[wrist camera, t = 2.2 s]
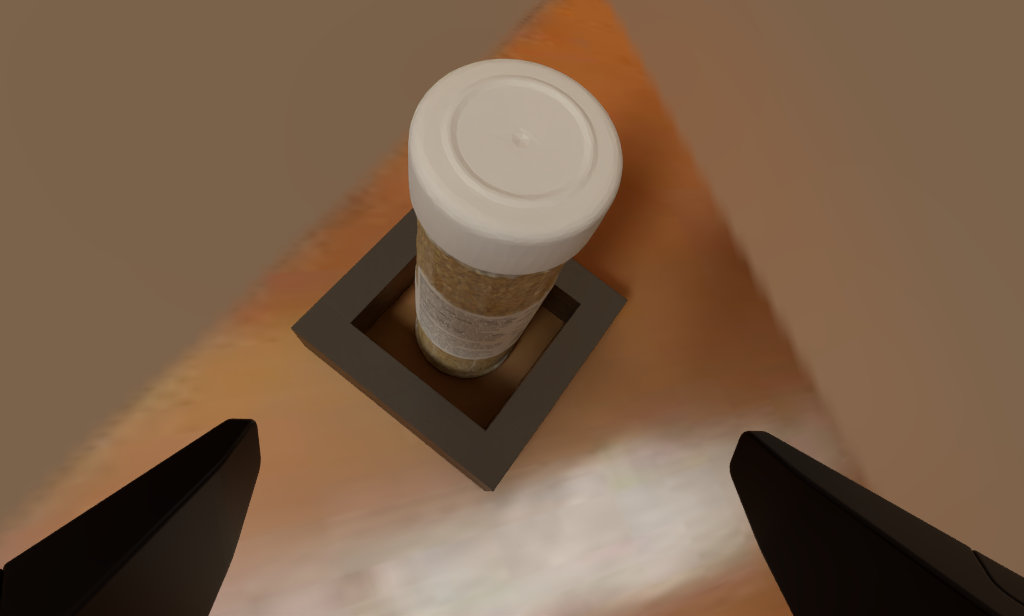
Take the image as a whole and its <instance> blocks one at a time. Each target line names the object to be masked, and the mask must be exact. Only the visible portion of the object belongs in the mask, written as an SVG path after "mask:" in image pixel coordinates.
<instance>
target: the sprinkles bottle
mask: <svg viewBox="0 0 1024 616" xmlns="http://www.w3.org/2000/svg"><path fill="white" fill-rule="evenodd" d="M408 168H409V190H410V197H411V202H412V205H413V208H414V211H415V213H416V216H417V228H418V229H417V238H416V243H417V244H416V247H417V264H416V269H415V300H416V313H417V316H416V320H415V334H416V338H417V343H418V345H419V347H420V349H421V351H422V353H423V354H424V356H425V358H426V360H427V361H428V362H429V363H430V364H432V365H433V366H435V367H436V368H437V369H438V370H440V371H442V372H444V373H446V374H448V375H450V376H454V377H459V378H474V377H479V376H482V375H486V374H488V373H490V372H492V371H494V370H495V369H496V368H498V367H499V366H500V365H501V364H502V363H503V362H504V361H505V359H507V357H508V356H509V354H510V352H511V351H512V349H513V347H514V344H515V342H516V341H517V340H518V338H519V337H520V336H521V334H522V333H523V331H524V330H525V328H526V327H527V325H528V324H529V322H530V321H531V319H532V318H533V316H534V315H535V313H536V311H537V310H538V308H539V307H540V305H541V304H542V302H543V301H544V299H545V298H546V296H547V295H548V293H549V292H550V290H551V289H552V287H553V286H554V284H555V282H556V279H557V277H558V274H559V272H560V271H561V269H562V267H563V266H564V264H565V263H566V261H568V260H569V259H570V258H572V257H573V256H575V255H576V254H577V253H578V252H579V251H580V250H581V249H582V248H583V247H584V246H585V245H586V244H587V242H588V241H589V240H590V238H591V237H592V235H593V234H594V232H595V231H596V229H597V228H598V226H599V225H600V223H601V221H602V220H603V218H604V216H605V215H606V213H607V211H608V210H609V208H610V206H611V204H612V203H613V201H614V199H615V197H616V195H617V192H618V189H619V186H620V182H621V177H622V169H623V156H622V148H621V144H620V139H619V136H618V134H617V131H616V128H615V126H614V124H613V122H612V120H611V119H610V117H609V115H608V113H607V112H606V110H605V109H604V108H603V106H602V105H601V104H600V103H599V101H598V100H597V99H596V98H595V97H594V96H593V95H592V94H591V93H590V92H589V91H588V90H587V89H585V88H584V87H583V86H581V85H580V84H579V83H578V82H576V81H575V80H573V79H571V78H570V77H568V76H567V75H565V74H563V73H561V72H559V71H556V70H554V69H552V68H550V67H547V66H544V65H541V64H538V63H534V62H529V61H524V60H516V59H493V60H485V61H480V62H475V63H472V64H469V65H466V66H463V67H460V68H458V69H456V70H454V71H452V72H450V73H449V74H447V75H446V76H444V77H443V78H442V79H440V80H439V81H437V82H436V83H435V85H433V86H432V87H431V88H430V90H428V91H427V93H426V94H425V96H424V97H423V98H422V100H421V101H420V103H419V105H418V107H417V109H416V111H415V113H414V116H413V119H412V122H411V126H410V132H409V141H408Z"/></svg>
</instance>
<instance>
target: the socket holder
mask: <svg viewBox="0 0 1024 616" xmlns="http://www.w3.org/2000/svg"><path fill="white" fill-rule="evenodd" d="M417 229H418V228H417V216H416V213H415V211H414V208H413V209H412V210H411V211H410V212H409V213H408V214H407V215H406V216H405V217H404V218H402V219H401V220H400V221H399V222H398V223H397V224H396V225H395V226H394V227H393V228H392V229H391V230H390V231H389V232H388V233H387V234H386V235H385V236H384V237H383V238H382V239H381V240H380V241H379V242H378V243H377V244H376V245H375V246H374V247H373V248H372V249H371V250H370V251H369V252H368V253H367V254H366V255H365V256H364V257H363V258H362V259H361V260H360V261H359V262H358V263H357V264H356V265H355V266H354V267H353V268H351V269H350V270H349V271H348V272H347V273H346V274H345V275H344V276H343V277H342V278H341V279H340V280H339V281H338V282H337V283H336V284H335V285H334V286H333V287H332V288H331V289H330V290H329V291H328V292H327V293H326V294H325V295H324V296H323V297H322V298H321V299H320V300H319V301H318V302H317V303H316V304H315V305H314V306H313V307H312V308H311V309H310V310H309V311H308V312H307V313H306V314H305V315H304V316H303V317H302V318H300V319H299V320H298V321H297V322H296V323H295V324H294V325H293V326H292V327H291V329H292V330H293V331H294V333H295V334H296V335H297V337H298V338H299V339H300V340H301V342H302V343H303V344H304V346H306V347H307V348H308V349H309V350H311V351H312V352H313V353H314V354H315V355H317V356H318V357H319V358H320V359H322V360H323V361H324V362H325V363H327V364H328V365H329V366H330V367H332V368H333V369H334V370H335V371H337V372H338V373H339V374H340V375H342V376H343V377H344V378H345V379H346V380H348V381H349V382H350V383H351V384H353V385H354V386H355V387H356V388H358V389H359V390H360V391H361V392H363V393H364V394H365V395H366V396H368V397H369V398H370V399H371V400H373V401H374V402H375V403H376V404H377V405H379V406H380V407H381V408H382V409H384V410H385V411H386V412H387V413H389V414H390V415H391V416H392V417H394V418H395V419H396V420H397V421H399V422H400V423H401V424H402V425H404V426H405V427H406V428H407V429H408V430H410V431H411V432H412V433H413V434H415V435H416V436H417V437H418V438H420V439H421V440H422V441H423V442H425V443H426V444H427V445H428V446H430V447H431V448H432V449H433V450H435V451H436V452H437V453H438V454H440V455H441V456H442V457H443V458H444V459H446V460H447V461H448V462H449V463H451V464H452V465H453V466H454V467H456V468H457V469H458V470H459V471H461V472H462V473H463V474H464V475H466V476H467V477H468V478H469V479H471V480H472V481H473V482H474V483H475V484H477V485H478V486H479V487H480V488H482V489H483V490H484V491H494V489H495V488H496V487H497V485H498V484H499V482H500V481H501V479H502V478H503V477H504V475H505V474H506V472H507V471H508V470H509V468H510V467H511V465H512V464H513V462H514V461H515V460H516V458H517V457H518V455H519V454H520V452H521V451H522V450H523V448H524V447H525V445H526V444H527V443H528V441H529V440H530V438H531V437H532V435H533V434H534V433H535V431H536V430H537V428H538V427H539V426H540V424H541V423H542V421H543V420H544V418H545V417H546V416H547V414H548V413H549V411H550V410H551V408H552V407H553V406H554V404H555V403H556V401H557V400H558V399H559V397H560V396H561V394H562V393H563V391H564V390H565V389H566V387H567V386H568V384H569V383H570V382H571V380H572V379H573V377H574V376H575V374H576V373H577V372H578V370H579V369H580V367H581V366H582V365H583V363H584V362H585V360H586V359H587V357H588V356H589V355H590V353H591V352H592V350H593V349H594V347H595V346H596V345H597V343H598V342H599V340H600V339H601V338H602V336H603V335H604V333H605V332H606V330H607V329H608V328H609V326H610V325H611V323H612V322H613V321H614V319H615V318H616V316H617V315H618V313H619V312H620V311H621V309H622V308H623V306H624V305H625V303H626V302H627V301H628V300H627V299H625V298H624V297H623V296H621V295H620V294H619V293H617V292H616V291H615V290H613V289H612V288H611V287H609V286H608V285H607V284H605V283H604V282H603V281H601V280H600V279H599V278H597V277H596V276H595V275H593V274H592V273H591V272H589V271H588V270H587V269H585V268H584V267H583V266H581V265H580V264H579V263H577V262H576V261H575V260H573V259H572V258H570V259H569V260H568V261H566V263H565V264H564V266H563V267H562V269H561V271H560V272H559V274H558V277H557V279H556V282H555V284H554V286H553V287H552V289H551V290H550V292H549V293H548V295H547V296H546V298H545V299H544V301H543V302H542V305H543V306H544V307H545V308H547V309H548V310H549V311H551V312H552V313H553V314H555V315H556V316H557V317H559V318H560V319H561V320H562V321H564V322H565V323H564V325H563V326H562V327H561V329H560V330H559V331H558V333H557V334H556V335H555V337H554V338H553V339H552V341H551V342H550V343H549V345H548V346H547V347H546V349H545V350H544V351H543V353H542V354H541V355H540V357H539V358H538V359H537V361H536V362H535V363H534V365H533V366H532V367H531V369H530V370H529V371H528V373H527V374H526V375H525V377H524V378H523V379H522V381H521V382H520V383H519V385H518V386H517V387H516V389H515V390H514V391H513V393H512V394H511V395H510V397H509V398H508V399H507V400H506V402H505V403H504V404H503V406H502V407H501V408H500V410H499V411H498V412H497V414H496V415H495V416H494V418H493V419H492V420H491V422H490V423H489V424H488V426H487V427H486V428H485V430H484V429H483V428H481V427H480V426H479V425H477V424H476V423H475V422H474V421H472V420H471V419H470V418H469V417H467V416H466V415H465V414H464V413H462V412H461V411H460V410H459V409H457V408H456V407H455V406H454V405H452V404H451V403H450V402H449V401H447V400H446V399H445V398H444V397H442V396H441V395H440V394H438V393H437V392H436V391H435V390H433V389H432V388H431V387H430V386H428V385H427V384H426V383H425V382H423V381H422V380H421V379H420V378H418V377H417V376H416V375H415V374H413V373H412V372H411V371H410V370H408V369H407V368H406V367H405V366H403V365H402V364H401V363H399V362H398V361H397V360H396V359H394V358H393V357H392V356H391V355H389V354H388V353H387V352H386V351H384V350H383V349H382V348H381V347H379V346H378V345H377V344H376V343H374V342H373V341H372V340H371V339H369V338H368V337H367V336H366V335H364V334H365V332H366V331H367V330H368V329H369V328H370V327H371V326H372V325H373V324H374V323H375V322H376V321H377V320H378V319H379V318H380V317H381V315H382V314H383V313H384V312H385V311H386V310H387V309H388V308H389V307H390V306H391V305H392V304H393V303H394V302H395V301H396V300H397V298H398V297H399V296H400V295H401V294H402V293H403V292H404V291H405V290H406V289H407V288H408V287H409V286H410V285H411V284H412V283H413V281H414V280H415V269H416V264H417V247H416V244H417V243H416V238H417Z"/></svg>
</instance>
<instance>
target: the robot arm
mask: <svg viewBox="0 0 1024 616" xmlns="http://www.w3.org/2000/svg"><path fill="white" fill-rule="evenodd" d="M260 463H261V455H260V446H259V437H258V428H257V424H256V422H255V421H254V420H253V419H228V420H226V421H224V422H223V423H221V424H220V425H218V426H216V427H215V428H213V429H212V430H210V431H209V432H207V433H206V434H204V435H203V436H201V437H200V438H198V439H196V440H195V441H193V442H192V443H190V444H189V445H187V446H186V447H184V448H183V449H181V450H180V451H178V452H176V453H175V454H173V455H172V456H170V457H169V458H167V459H166V460H164V461H163V462H161V463H160V464H158V465H157V466H155V467H153V468H152V469H150V470H149V471H147V472H146V473H144V474H143V475H141V476H140V477H138V478H137V479H135V480H133V481H132V482H130V483H129V484H127V485H126V486H124V487H123V488H121V489H120V490H118V491H117V492H115V493H114V494H112V495H110V496H109V497H107V498H106V499H104V500H103V501H101V502H100V503H98V504H97V505H95V506H94V507H92V508H90V509H89V510H87V511H86V512H84V513H83V514H81V515H80V516H78V517H77V518H75V519H74V520H72V521H70V522H69V523H67V524H66V525H64V526H63V527H61V528H60V529H58V530H57V531H55V532H54V533H52V534H51V535H49V536H47V537H46V538H44V539H43V540H41V541H40V542H38V543H37V544H35V545H34V546H32V547H31V548H29V549H27V550H26V551H24V552H23V553H21V554H20V555H18V556H17V557H15V558H14V559H12V560H11V561H9V562H7V563H6V564H5V565H4V567H3V570H2V569H0V616H208V615H209V613H210V611H211V608H212V606H213V604H214V601H215V599H216V597H217V594H218V592H219V590H220V587H221V585H222V583H223V580H224V578H225V576H226V573H227V571H228V568H229V566H230V563H231V561H232V558H233V556H234V553H235V549H236V546H237V543H238V540H239V537H240V533H241V530H242V527H243V523H244V520H245V517H246V513H247V510H248V507H249V503H250V500H251V497H252V493H253V490H254V487H255V483H256V480H257V477H258V473H259V469H260ZM730 474H731V478H732V480H733V483H734V485H735V488H736V490H737V493H738V495H739V498H740V500H741V503H742V505H743V508H744V511H745V513H746V516H747V518H748V521H749V523H750V526H751V528H752V531H753V533H754V536H755V538H756V541H757V543H758V545H759V548H760V550H761V552H762V554H763V556H764V558H765V560H766V562H767V564H768V566H769V568H770V570H771V572H772V574H773V576H774V578H775V580H776V582H777V584H778V586H779V588H780V590H781V592H782V594H783V596H784V598H785V600H786V602H787V604H788V606H789V608H790V610H791V612H792V614H793V616H1024V577H1022V576H1020V575H1018V574H1017V573H1015V572H1013V571H1011V570H1009V569H1008V568H1006V567H1004V566H1002V565H1000V564H998V563H997V562H995V561H993V560H992V559H990V558H988V557H986V556H984V555H983V554H981V553H979V552H977V551H975V550H973V551H972V550H971V548H970V547H968V546H967V545H965V544H963V543H961V542H960V541H958V540H956V539H954V538H953V537H951V536H949V535H947V534H946V533H944V532H942V531H940V530H938V529H937V528H935V527H933V526H931V525H930V524H928V523H926V522H924V521H923V520H921V519H919V518H917V517H916V516H914V515H912V514H910V513H908V512H907V511H905V510H903V509H901V508H900V507H898V506H896V505H894V504H893V503H891V502H889V501H887V500H886V499H884V498H882V497H880V496H879V495H877V494H875V493H873V492H871V491H870V490H868V489H866V488H864V487H863V486H861V485H859V484H857V483H856V482H854V481H852V480H850V479H849V478H847V477H845V476H843V475H841V474H840V473H838V472H836V471H834V470H833V469H831V468H829V467H827V466H826V465H824V464H822V463H820V462H819V461H817V460H815V459H813V458H812V457H810V456H808V455H806V454H804V453H803V452H801V451H799V450H797V449H796V448H794V447H792V446H790V445H789V444H787V443H785V442H783V441H782V440H780V439H778V438H776V437H774V436H773V435H771V434H769V433H767V432H764V431H746V432H744V433H743V434H742V435H741V436H740V439H739V441H738V444H737V446H736V449H735V451H734V454H733V457H732V459H731V462H730Z"/></svg>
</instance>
